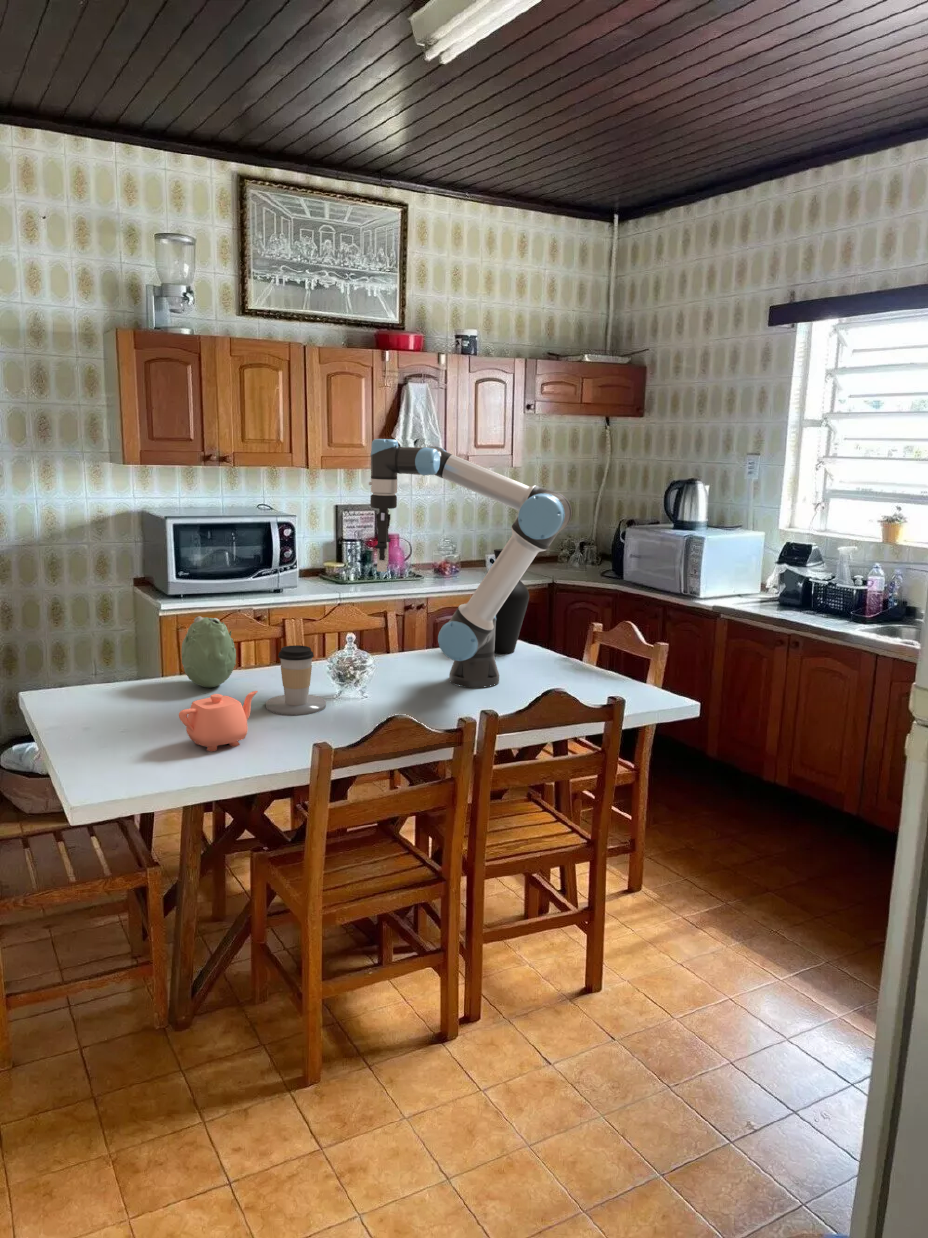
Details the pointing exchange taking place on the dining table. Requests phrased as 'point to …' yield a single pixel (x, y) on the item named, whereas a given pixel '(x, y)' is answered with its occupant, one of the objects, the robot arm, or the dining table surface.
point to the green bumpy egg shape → (208, 652)
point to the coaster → (281, 707)
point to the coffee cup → (296, 673)
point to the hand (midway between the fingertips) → (382, 567)
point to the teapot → (217, 720)
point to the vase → (510, 617)
